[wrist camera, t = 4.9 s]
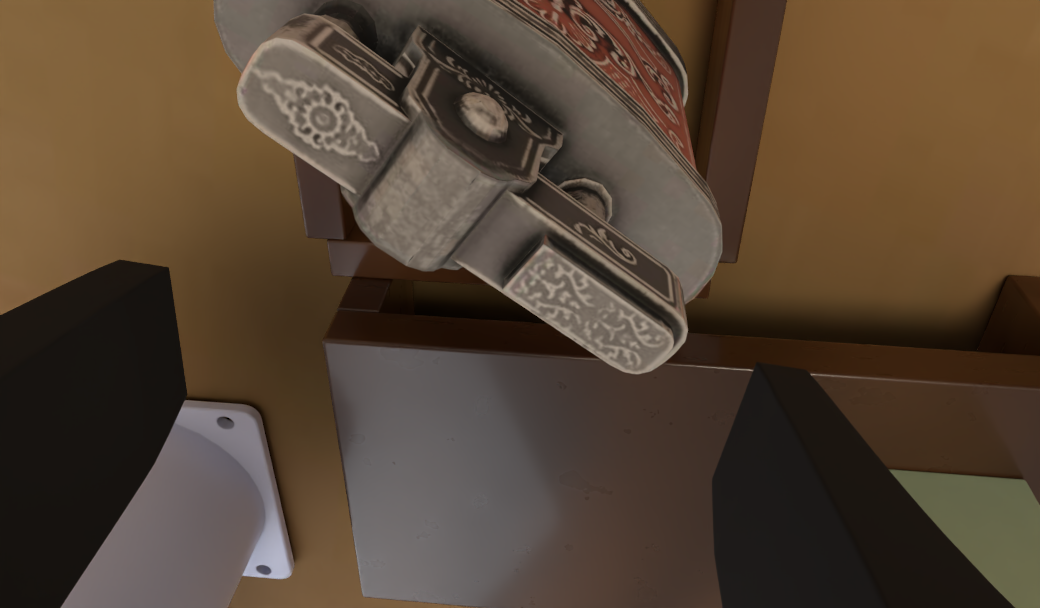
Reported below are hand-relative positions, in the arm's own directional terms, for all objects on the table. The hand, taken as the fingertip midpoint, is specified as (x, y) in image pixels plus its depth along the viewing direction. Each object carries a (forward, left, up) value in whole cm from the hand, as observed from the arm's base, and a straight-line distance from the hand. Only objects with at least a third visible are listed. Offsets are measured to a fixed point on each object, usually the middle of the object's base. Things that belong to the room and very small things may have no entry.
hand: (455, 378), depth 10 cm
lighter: (0, +2, -10) cm, 11 cm away
